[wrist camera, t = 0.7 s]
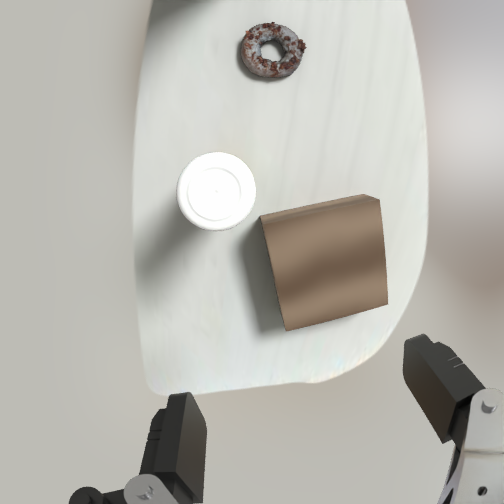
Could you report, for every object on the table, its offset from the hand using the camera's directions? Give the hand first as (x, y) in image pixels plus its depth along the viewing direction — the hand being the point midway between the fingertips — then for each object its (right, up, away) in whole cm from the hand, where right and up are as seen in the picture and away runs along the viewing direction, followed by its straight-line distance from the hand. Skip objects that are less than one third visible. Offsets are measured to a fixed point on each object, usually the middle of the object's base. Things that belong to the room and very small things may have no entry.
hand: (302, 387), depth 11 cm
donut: (0, +25, +17) cm, 30 cm away
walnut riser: (+5, +4, +22) cm, 23 cm away
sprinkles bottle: (-4, +12, +20) cm, 24 cm away
